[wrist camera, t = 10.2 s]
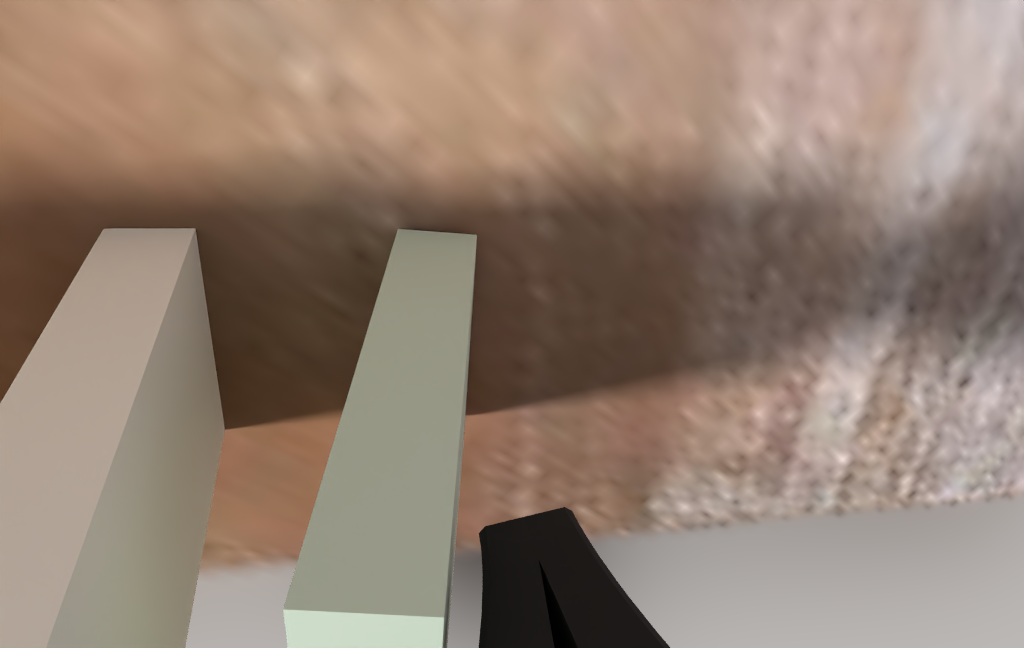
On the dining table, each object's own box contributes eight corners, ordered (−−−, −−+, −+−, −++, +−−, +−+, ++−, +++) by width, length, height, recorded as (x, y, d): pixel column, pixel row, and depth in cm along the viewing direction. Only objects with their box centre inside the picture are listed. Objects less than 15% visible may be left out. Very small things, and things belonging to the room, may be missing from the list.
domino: (195, 228, 14) (46, 649, 7) (225, 430, 17) (140, 891, 9) (104, 228, 14) (-159, 672, 6) (148, 434, 17) (-2, 916, 9)
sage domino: (477, 234, 15) (444, 617, 7) (465, 425, 18) (431, 852, 10) (398, 228, 15) (282, 609, 7) (397, 421, 18) (312, 848, 10)
